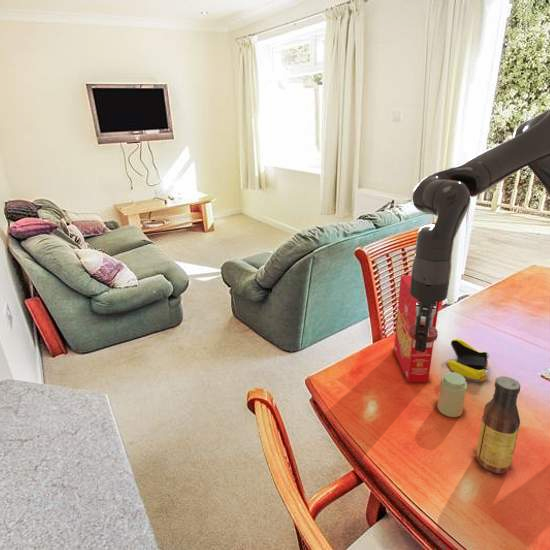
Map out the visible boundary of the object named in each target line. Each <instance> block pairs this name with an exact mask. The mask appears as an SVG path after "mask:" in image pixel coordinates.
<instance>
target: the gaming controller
mask: <svg viewBox="0 0 550 550" xmlns="http://www.w3.org/2000/svg"><path fill="white" fill-rule="evenodd" d="M450 346H451V348H452V349H453V351H454V353H455V356H456V358H457V360H456V361H455V360H453V359H451V360H447V361H446V363H445V366H446V368H447V369H448V370H449V372H454V373H458V374H460V375H462V376H463V377H464V378H465V380H467V381H470V382H472V383H477V382H479V383H481V382H483V381H486V380H487V377H488V373H489V369H487V368H488V365H489V361H488V359H489V357H490V353H489V352H487V351H483V350H482V351H481V350H477V349H475V347H473V346H471V345H470V344H469V343H467V341H464V340H463V339H461V338H457V337H456V338H454V339H452V340H451V342H450Z"/></svg>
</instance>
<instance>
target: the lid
mask: <svg viewBox="0 0 550 550" xmlns="http://www.w3.org/2000/svg"><path fill="white" fill-rule="evenodd" d="M415 331H416V325H415V324H413V325H411V326H410V328H409V336H410V337H411V338H412V339H414V340H416V338H415V336H414V335H415ZM420 332H423V331H420ZM438 333H439V332H438V329H435V328H434V327H431V328H429V333H428V335H429V337H428V339H427V343H430V342H433V341H434V342H435V341H436V340H437V339H438V335H439V334H438Z"/></svg>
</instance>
